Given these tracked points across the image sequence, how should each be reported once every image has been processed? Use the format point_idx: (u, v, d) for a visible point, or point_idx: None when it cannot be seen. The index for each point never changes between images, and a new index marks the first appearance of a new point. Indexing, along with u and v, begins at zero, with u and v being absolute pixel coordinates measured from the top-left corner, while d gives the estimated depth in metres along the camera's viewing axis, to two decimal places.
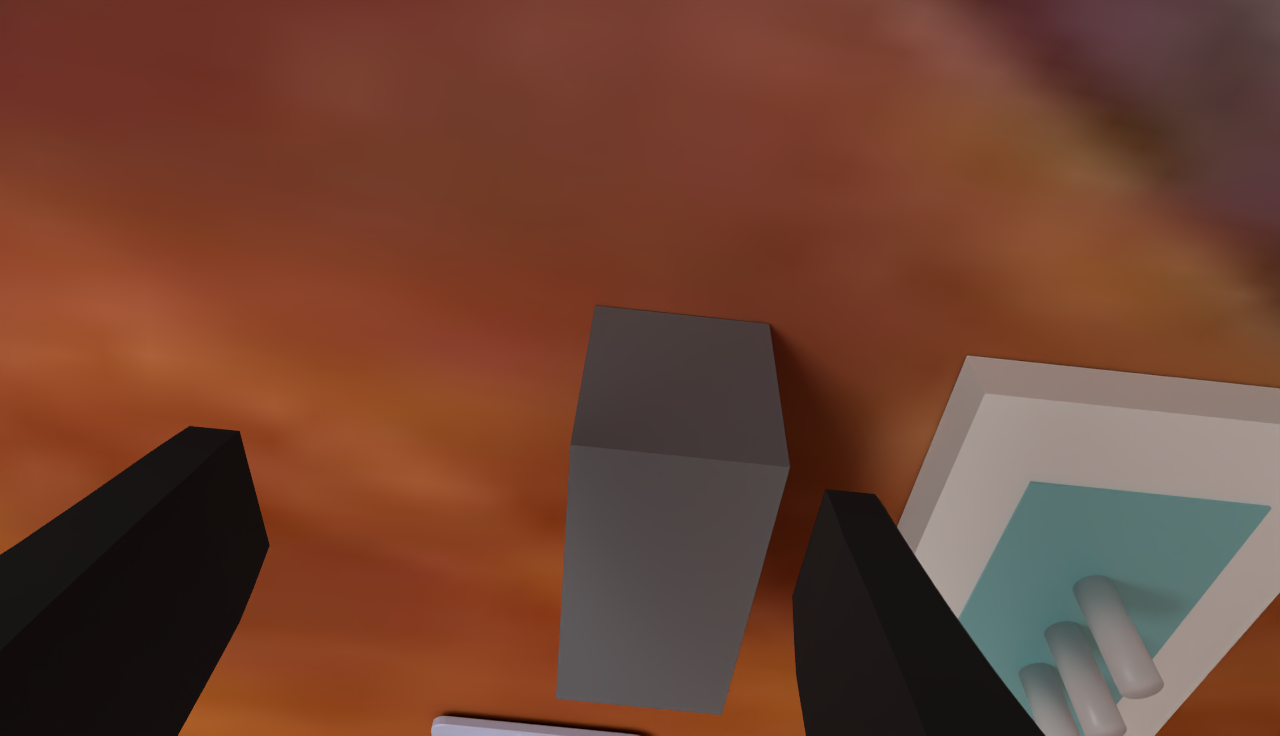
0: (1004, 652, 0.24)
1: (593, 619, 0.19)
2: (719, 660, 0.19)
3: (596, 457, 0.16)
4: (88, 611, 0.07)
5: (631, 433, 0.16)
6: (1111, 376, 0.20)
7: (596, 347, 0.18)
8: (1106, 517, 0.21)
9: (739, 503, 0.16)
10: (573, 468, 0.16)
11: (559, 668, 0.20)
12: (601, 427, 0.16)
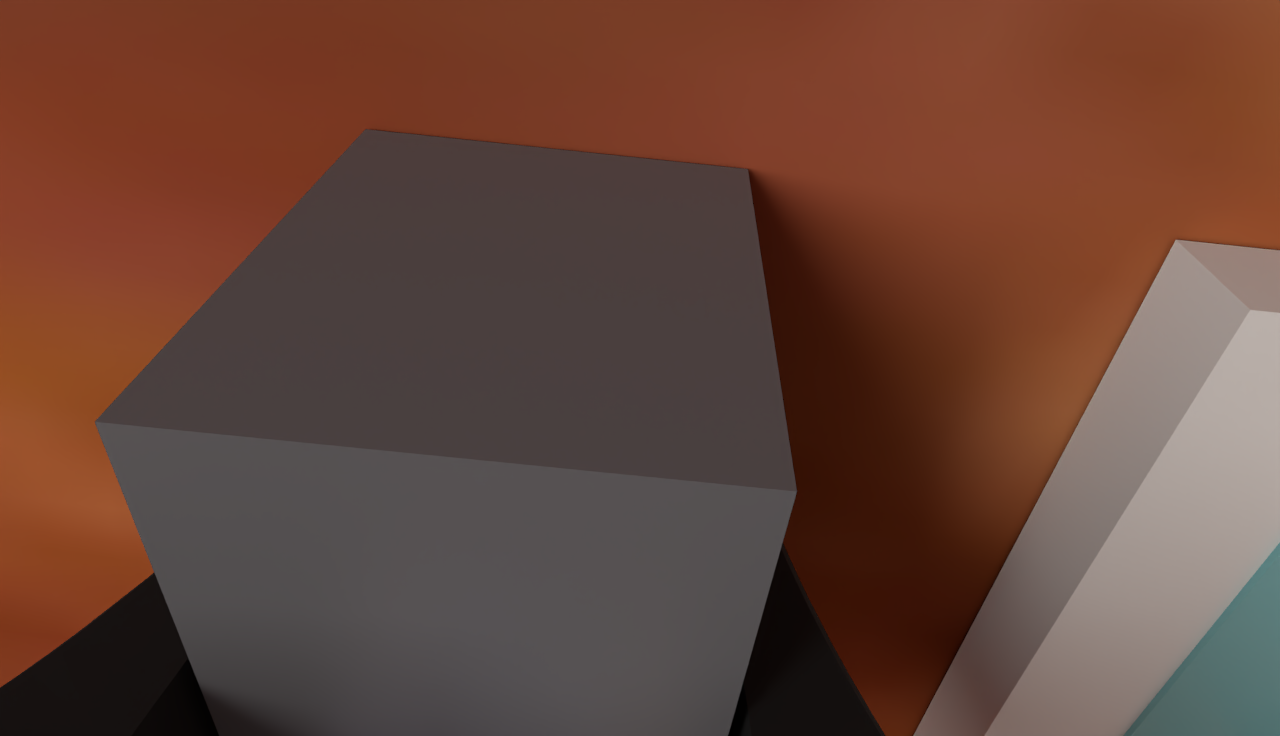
0: None
1: None
2: None
3: (190, 461, 0.05)
4: None
5: (323, 389, 0.05)
6: None
7: (325, 197, 0.07)
8: None
9: (649, 595, 0.06)
10: (136, 496, 0.05)
11: None
12: (230, 372, 0.05)
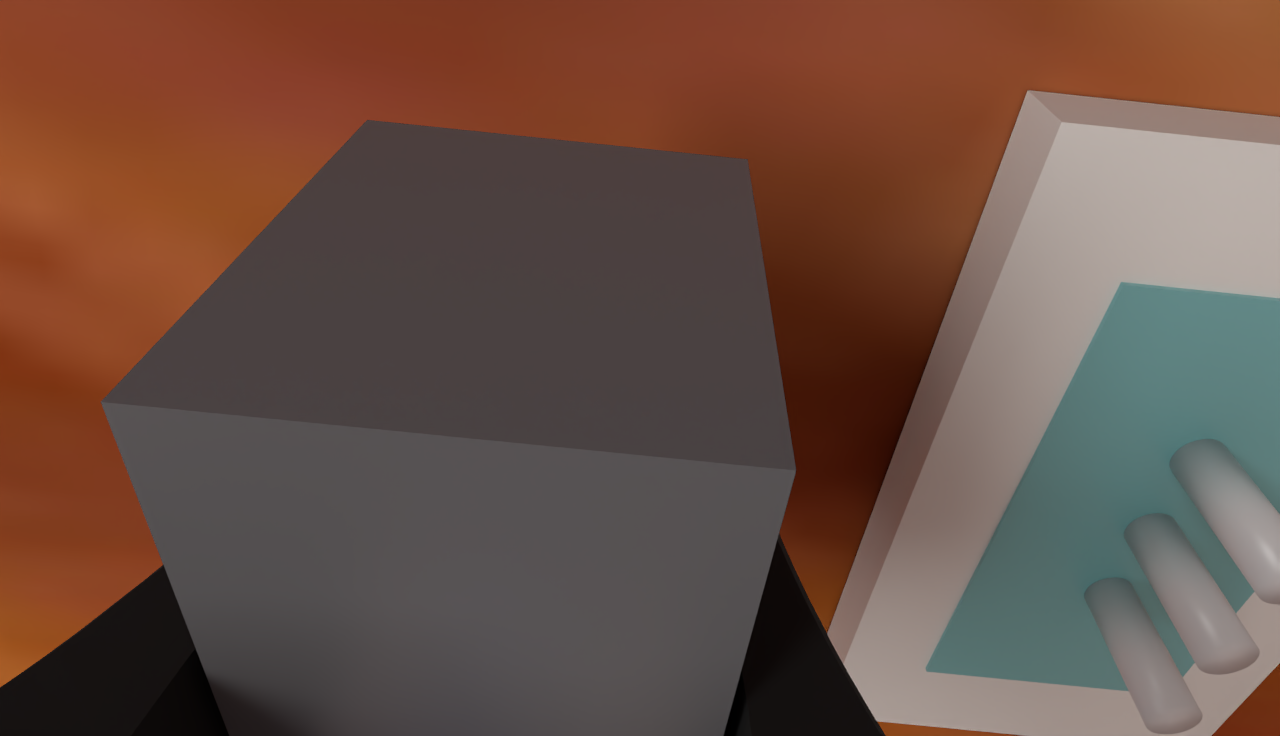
0: (1066, 563, 0.18)
1: None
2: None
3: (195, 440, 0.05)
4: None
5: (327, 371, 0.05)
6: (1245, 117, 0.13)
7: (327, 184, 0.08)
8: (1229, 341, 0.14)
9: (649, 576, 0.06)
10: (142, 476, 0.05)
11: None
12: (235, 354, 0.05)
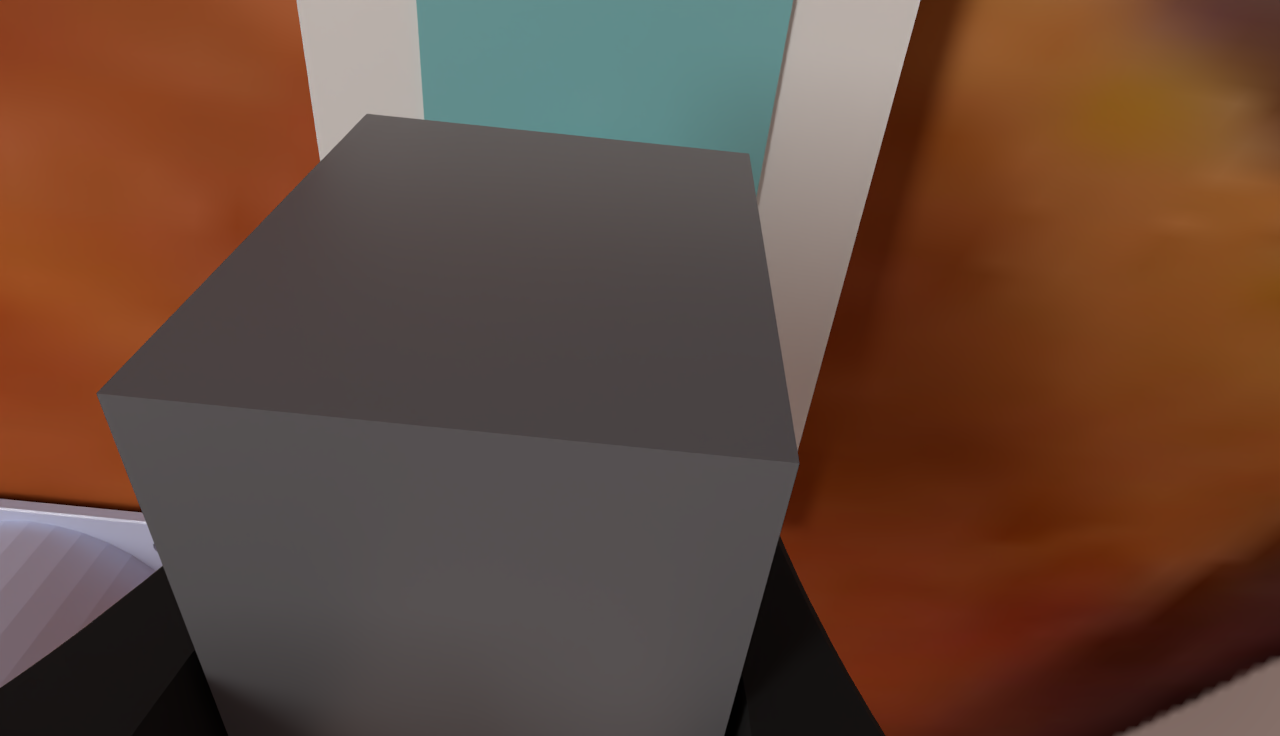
0: None
1: None
2: None
3: (192, 433, 0.05)
4: None
5: (324, 363, 0.05)
6: None
7: (327, 177, 0.07)
8: (553, 1, 0.13)
9: (651, 570, 0.06)
10: (138, 469, 0.05)
11: None
12: (233, 346, 0.05)
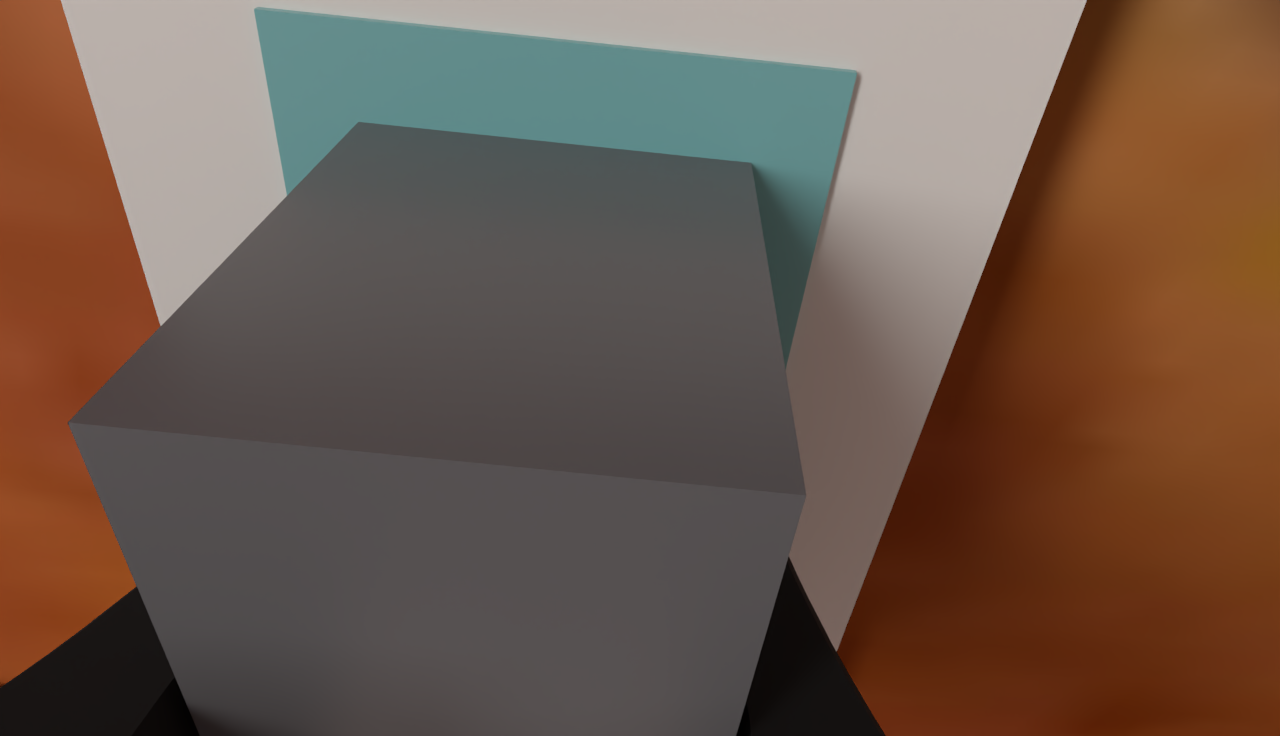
0: None
1: None
2: None
3: (167, 464, 0.05)
4: None
5: (309, 388, 0.05)
6: None
7: (316, 189, 0.07)
8: (481, 118, 0.09)
9: (650, 604, 0.05)
10: (113, 500, 0.05)
11: None
12: (213, 370, 0.05)
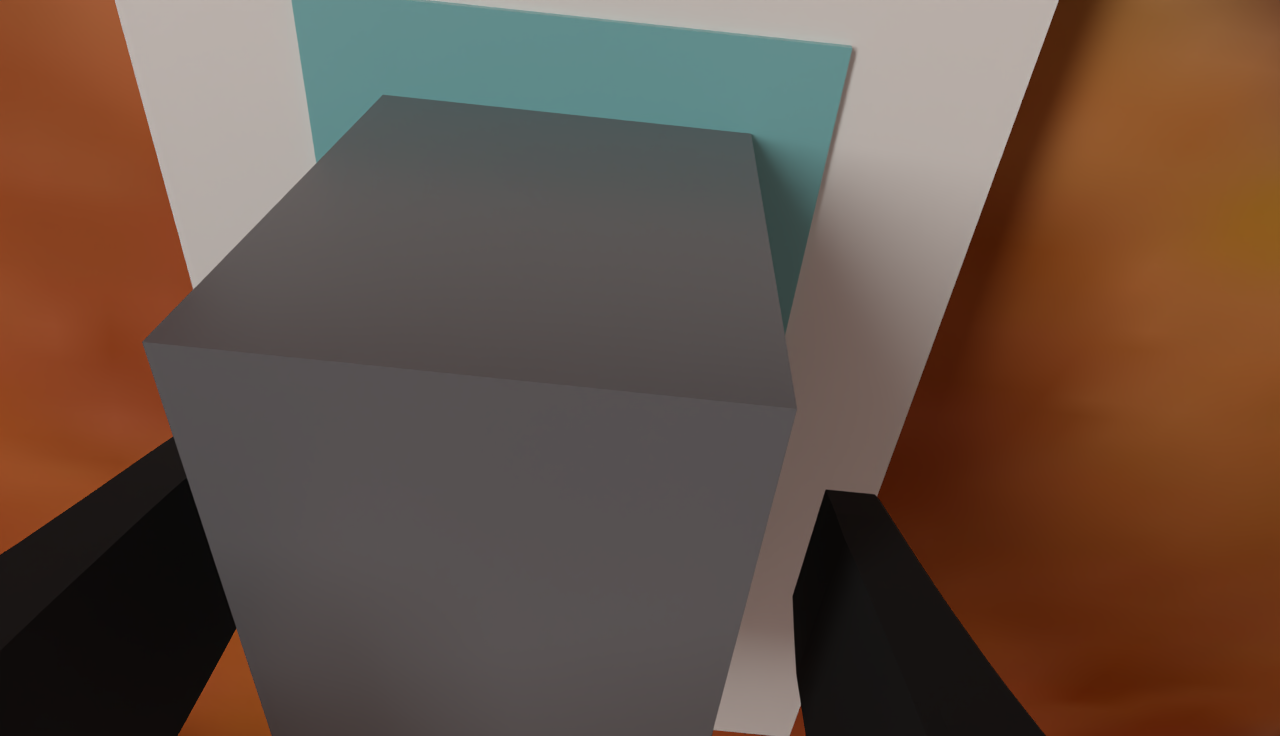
0: None
1: None
2: None
3: (229, 381, 0.05)
4: (87, 611, 0.07)
5: (353, 319, 0.06)
6: None
7: (346, 152, 0.08)
8: (500, 91, 0.09)
9: (657, 515, 0.06)
10: (178, 416, 0.06)
11: None
12: (266, 302, 0.06)
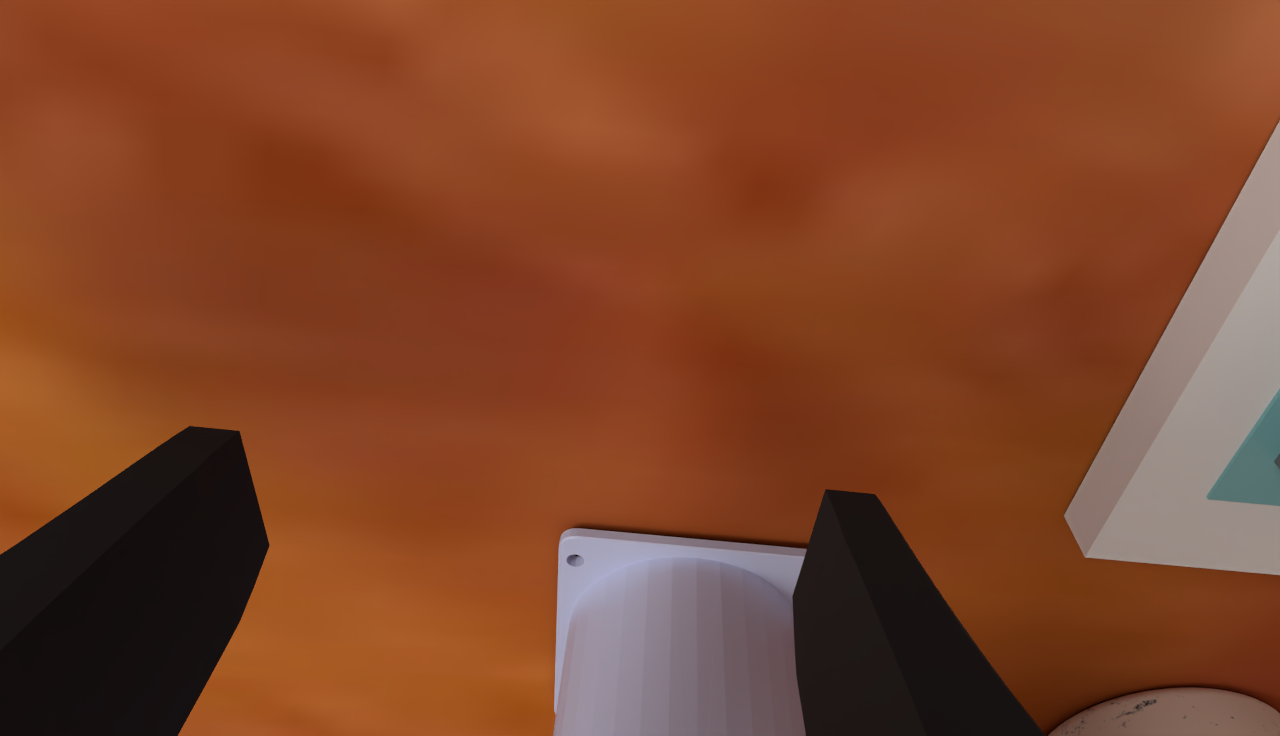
0: None
1: None
2: None
3: None
4: (88, 611, 0.07)
5: None
6: None
7: None
8: None
9: None
10: None
11: None
12: None
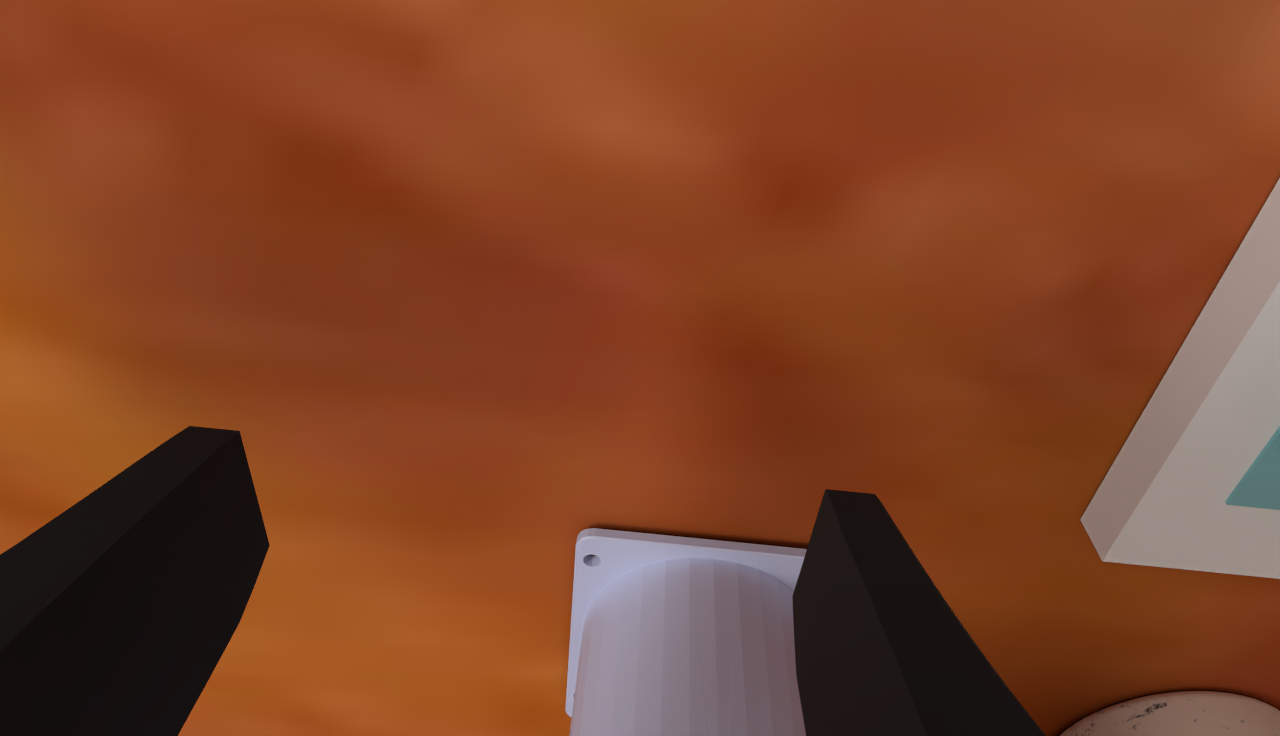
0: None
1: None
2: None
3: None
4: (88, 610, 0.07)
5: None
6: None
7: None
8: None
9: None
10: None
11: None
12: None
